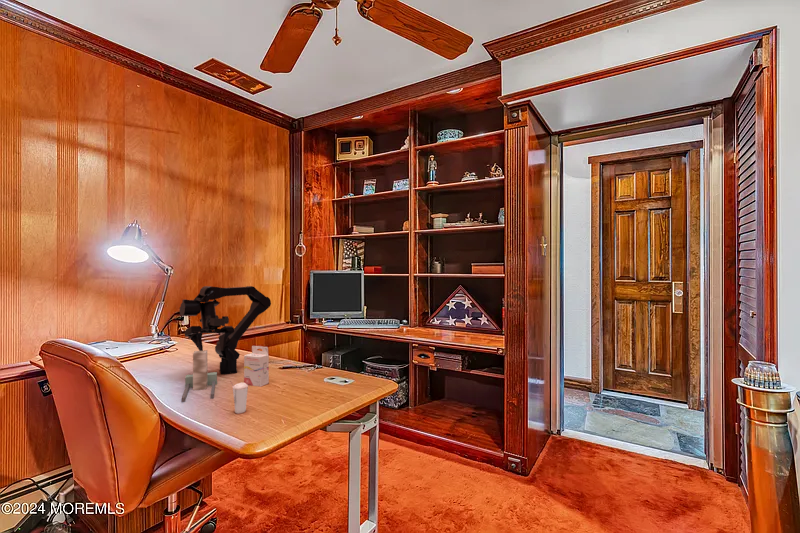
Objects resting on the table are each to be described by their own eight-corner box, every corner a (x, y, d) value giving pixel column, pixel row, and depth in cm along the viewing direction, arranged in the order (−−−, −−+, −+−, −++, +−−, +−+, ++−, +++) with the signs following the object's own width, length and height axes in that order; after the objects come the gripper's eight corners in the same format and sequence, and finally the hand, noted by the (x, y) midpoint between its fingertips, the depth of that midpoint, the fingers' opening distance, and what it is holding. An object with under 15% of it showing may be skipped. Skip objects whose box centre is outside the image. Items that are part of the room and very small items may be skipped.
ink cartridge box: (243, 384, 155) (243, 347, 155) (251, 381, 160) (251, 345, 160) (261, 386, 152) (261, 349, 152) (269, 383, 157) (269, 346, 157)
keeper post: (207, 385, 154) (207, 350, 154) (206, 389, 150) (206, 352, 150) (194, 387, 152) (194, 351, 152) (193, 390, 148) (192, 353, 148)
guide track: (216, 381, 160) (216, 371, 160) (215, 398, 139) (215, 386, 139) (186, 385, 155) (186, 374, 155) (179, 402, 135) (179, 390, 135)
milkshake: (232, 409, 128) (232, 378, 128) (249, 409, 128) (249, 378, 128) (228, 414, 123) (227, 383, 123) (245, 414, 124) (245, 382, 124)
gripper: (197, 307, 155) (201, 346, 150) (239, 309, 170) (244, 344, 165) (182, 317, 160) (185, 354, 155) (224, 318, 176) (229, 352, 171)
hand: (212, 351), depth 162 cm, fingers open, 9 cm apart
